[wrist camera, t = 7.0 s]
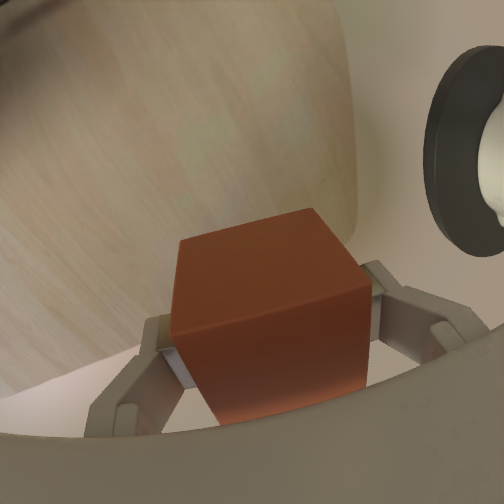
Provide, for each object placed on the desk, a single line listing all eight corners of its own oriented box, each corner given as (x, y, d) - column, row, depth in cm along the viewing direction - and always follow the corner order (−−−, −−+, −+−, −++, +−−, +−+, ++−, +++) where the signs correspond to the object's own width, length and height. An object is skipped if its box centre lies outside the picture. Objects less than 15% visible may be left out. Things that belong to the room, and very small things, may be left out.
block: (312, 206, 10) (374, 281, 6) (324, 309, 12) (366, 396, 8) (178, 239, 10) (167, 335, 6) (215, 336, 12) (224, 433, 8)
